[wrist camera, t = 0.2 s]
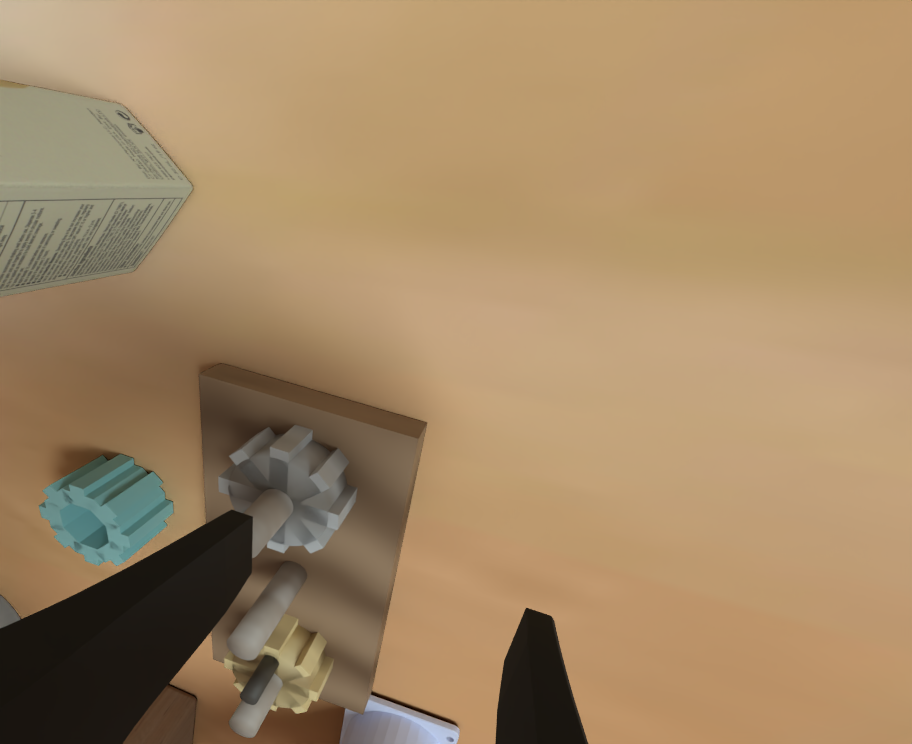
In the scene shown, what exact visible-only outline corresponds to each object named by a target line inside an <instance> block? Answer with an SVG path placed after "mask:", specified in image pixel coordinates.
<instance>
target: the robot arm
mask: <svg viewBox="0 0 912 744" xmlns="http://www.w3.org/2000/svg"><path fill="white" fill-rule="evenodd" d="M252 541H253V516H250V515H247V514H244V513H241V512H238V511H235V510H230V511H228V512H226V513H224V514H222V515H220V516H219V517H217V518H215V519H213V520H212V521H210V522H208V523H206V524H205V525H203V526H201V527H199V528H198V529H196V530H194V531H193V532H191V533H189V534H187V535H186V536H184V537H182V538H180V539H179V540H177V541H175V542H173V543H172V544H170V545H168V546H166V547H164V548H163V549H161V550H159V551H157V552H155V553H153V554H152V555H150V556H148V557H146V558H144V559H143V560H141V561H139V562H137V563H135V564H134V565H132V566H130V567H128V568H126V569H124V570H122V571H120V572H118V573H116V574H114V575H112V576H111V577H109V578H107V579H105V580H103V581H101V582H99V583H97V584H95V585H93V586H91V587H89V588H87V589H85V590H83V591H81V592H79V593H77V594H75V595H73V596H71V597H69V598H67V599H65V600H62V601H60V602H58V603H56V604H54V605H52V606H50V607H48V608H45V609H43V610H41V611H39V612H37V613H34V614H32V615H30V616H28V617H25V618H23V619H21V620H19V621H16V622H14V623H12V624H9V625H7V626H5V627H2V628H0V744H123V742H124V741H125V740H126V738H127V737H128V735H129V734H130V732H131V731H132V730H133V728H134V727H135V725H136V724H137V723H138V722H139V720H140V719H141V718H142V716H143V715H144V714H145V712H146V711H147V710H148V708H149V707H150V706H151V705H152V703H153V702H154V701H155V700H156V698H157V697H158V696H159V695H160V693H161V692H162V691H163V690H164V689H165V687H166V686H167V685H168V684H169V682H170V681H171V680H172V679H173V677H174V676H175V675H176V674H177V673H178V671H179V670H180V669H181V668H182V666H183V665H184V664H185V663H186V662H187V660H188V659H189V658H190V657H191V655H192V654H193V653H194V652H195V650H196V649H197V648H198V647H199V646H200V644H201V643H202V642H203V641H204V639H205V638H206V637H207V636H208V634H209V633H210V632H211V631H212V629H213V628H214V627H215V626H216V624H217V623H218V622H219V621H220V619H221V618H222V617H223V616H224V614H225V613H226V612H227V610H228V609H229V607H230V606H231V604H232V603H233V601H234V600H235V598H236V597H237V595H238V594H239V592H240V591H241V589H242V587H243V586H244V584H245V583H246V581H247V580H248V578H249V576H250V575H251V573H252ZM459 733H460V730H459V728H458V727H457V726H455V725H453V724H450V723H447V722H445V721H442V720H439V719H436V718H434V717H431V716H428V715H426V714H423V713H420V712H417V711H415V710H412V709H409V708H406V707H404V706H401V705H398V704H395V703H393V702H390V701H387V700H384V699H382V698H379V697H376V696H373V695H371V694H370V697H369V700H368V703H367V705H366V708H365V711H364V714H363V715H362V714H359V713H357V712H354V711H351V710H348V709H346V708H345V713H344V719H343V725H342V731H341V737H340V743H339V744H456V743H457V741H458V738H459ZM496 744H588V742H587V739H586V735H585V732H584V729H583V726H582V723H581V720H580V716H579V713H578V710H577V707H576V704H575V700H574V697H573V694H572V690H571V687H570V683H569V680H568V676H567V672H566V669H565V665H564V661H563V657H562V653H561V649H560V645H559V641H558V636H557V632H556V627H555V623H554V620H553V618H552V617H551V616H550V615H547V614H544V613H541V612H538V611H535V610H532V609H529V608H526V609H525V612H524V614H523V617H522V619H521V622H520V624H519V626H518V629H517V631H516V634H515V636H514V638H513V641H512V643H511V646H510V648H509V651H508V653H507V655H506V658H505V660H504V667H503V673H502V680H501V687H500V695H499V702H498V710H497V727H496Z"/></svg>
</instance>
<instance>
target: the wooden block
mask: <svg viewBox="0 0 912 744" xmlns="http://www.w3.org/2000/svg"><path fill="white" fill-rule="evenodd" d="M196 701H197V700H196V698H195V697H194V696H192V695H190V694H187V693H185V692H183V691H181V690H179V689H176V688H174V687H172V686H170V685H167V686H166V687H165V689H164V690H163V691H162V692H161V693H160V695H159V696H158V697H157V698H156V700H155V701H154V702H153V703H152V705H151V706H150V707H149V708H148V710H147V711H146V712H145V714H144V715H143V716H142V718H141V719H140V720H139V722H138V723H137V724H136V725H135V727H134V728H133V730H132V731H131V732H130V734H129V735H128V737H127V738H126V740H125V741H124V742H123V744H192V741H193V731H194V721H195V711H196Z"/></svg>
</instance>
